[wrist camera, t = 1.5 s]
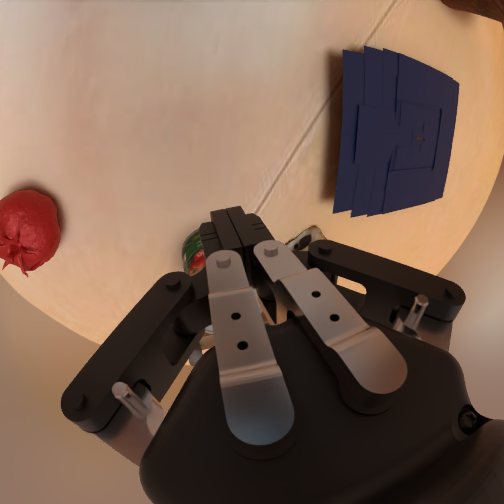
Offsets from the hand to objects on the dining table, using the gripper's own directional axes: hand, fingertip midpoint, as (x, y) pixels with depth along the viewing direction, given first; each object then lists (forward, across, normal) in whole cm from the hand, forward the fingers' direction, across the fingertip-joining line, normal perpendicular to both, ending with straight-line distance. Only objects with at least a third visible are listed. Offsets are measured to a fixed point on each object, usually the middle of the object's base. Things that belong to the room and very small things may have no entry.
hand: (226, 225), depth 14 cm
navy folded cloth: (+19, -31, 0) cm, 36 cm away
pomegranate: (+19, +22, +3) cm, 29 cm away
